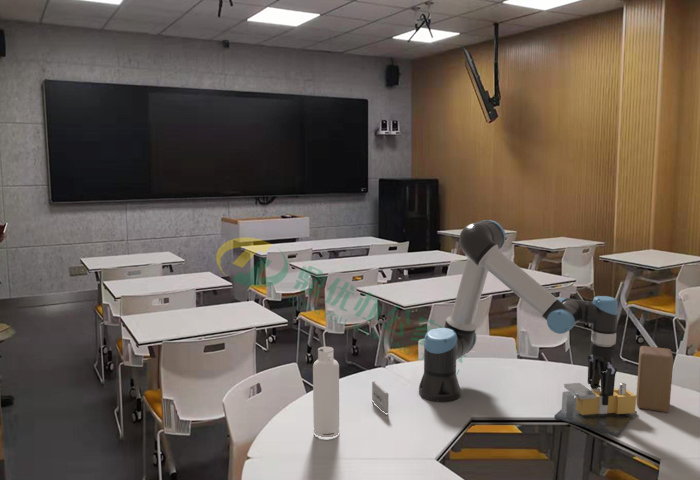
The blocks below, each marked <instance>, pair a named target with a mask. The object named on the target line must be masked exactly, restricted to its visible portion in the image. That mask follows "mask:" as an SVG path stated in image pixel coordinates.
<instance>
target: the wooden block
mask: <svg viewBox="0 0 700 480" xmlns="http://www.w3.org/2000/svg"><path fill="white" fill-rule="evenodd" d="M638 355H639V356H638V369H637V381H636V382H637V383H636V394H635V395H636V406H637V408H639V409H645V410H650V411H657V412H662V413H668V412H669V411H670V407H671V405H670V404H671V392H672V383H673V382H672V380H673V370H674V369H673V367H674V356H673V351H672V350H671V348H666V347H663V348H662V347H656V346H648V345H641V346H640V347H639V354H638Z"/></svg>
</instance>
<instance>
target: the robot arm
mask: <svg viewBox="0 0 700 480" xmlns="http://www.w3.org/2000/svg"><path fill="white" fill-rule="evenodd" d="M506 238H507V237H506V232H505V230H504V228H503V226H502V225H501V224H500V223H498V222H497V221H495V220H491V219H489V220H488V219H484V220H480V221H478V222H474V223H469V224H468V225H465V227H464V228H462V230H461V232H460V233H459V238H458V241H459V242H458V243H459V246H460V249H461V251H462V252H463V253H464V255H465V256H466V260H465V261H466V262H465V264H464V268H463V272H462V276H461V279H460V283H459V287H458V290H457V294H456V297H455V301H454V305H453V308H452V312H451V315H450V316H447V317H446V319H445V322H444V326H443V327H437V328H433V329H430V330H428V331H427V332H426V333H425V335H424V341H423V349H424V351H423V374H422V377H421V380H420V383H419V387H418V394H419V395H420V397H422V399H423V398H424V399H426V400H429V401H432V402H440V403H445V402H447V403H448V402H453V401H456V400H458V399H459V398H460V397H461V387H460V383H459V380H458V377H457V360H458V359H460V358H462V357H463V356H465V355H466V354H468V353H469V352H470V351H471V350H472V349H473V348H474V346H475V345H476V342H477V333H476V329H477V326H476V324H475V318H476V315H477V311H478V307H479V304H480V301H481V297H482V293H483V290H484V286H485V283H486V279H487V275H488V273H490V274H492V275H493V276H494V277H495V278H497V279H498V280H499V281H500V282H501V283H502V284H504V285H505V287H506V288H508V289H509V290H511V291H512V292H513V293H514V294H515V295H516V296H517V297H518V298H520V299H521V300H522V301H524V302H525V304H527V305H528V306H529V307H531V309H533V310H534V311H535V312H536V313H538V314H539V315H540V316H541V317H542V318H543V319H544V320H546V324H547V327H548V328H549V330H550V331H552V332H554V333H556V334H559V335H560V334H561V335H562V334H566V333H567V332H569V331H571V330H572V329H573V328H574V327H575V325H577V324H578V323H581V324H587V325H591V334H590V341H591V342H590V349H589V351H590V355H587V362H588V363H587V365H588V366H587V384H588V385H589V386H590V388H591V390H590V391H592V392H598V391H601V394H599V410H598V413H599V414H606V413H607V408H608V398H609V396H613V394H614V389H615V381H616V375H617V371H618V369H617V368H616V367H614V366H613V364H612V358H614V357H615V356H616V343H617V327H618V326H617V325H618V317H619V315H618V314H619V309H618V304H619V303H618V300H617V299H616V298H615V297H613V296H607V295H602V296H601V295H597V296H594V297H593V300H592V301H589V300H582V299H574V298H570V297H556V296H554V295H553V293H551V292H550V291H549V290H547V289H546V288H545V286H543V285H541V284H540V283H539V282H538V281H536V280H535V279H534V278H533V277H532V276H531V275H530V274H528V273H527V272H526V271H525V270H523V269H522V268H521V267H520V266H519V265H517V264H516V263H515V262H514V261H513V260H512V259H510V258H509V257H508V256H507V255H506V254H504V253H503V252H502V251H501V250H500V249H501V248H503V245H504V244H505V242H506Z"/></svg>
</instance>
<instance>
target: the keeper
mask: <svg viewBox="0 0 700 480" xmlns="http://www.w3.org/2000/svg"><path fill="white" fill-rule="evenodd" d="M563 387H564V388H565V389H566V390H567V391H562V393H561V395H562V396H561V397H562V398H561V409H562V413H561V415H563V416H564V417H565V418H573V410H574V398H575V397H578V398H579V399H592V398H596V394H594V393H593V392H592V391H591V390H590V389H589V388H587V387H586V386H585V385H583V384H582V383H580V382H573V383H572V382H571V383H570V382H569V383H564V384H563Z"/></svg>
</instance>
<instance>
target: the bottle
mask: <svg viewBox="0 0 700 480" xmlns="http://www.w3.org/2000/svg"><path fill="white" fill-rule="evenodd" d="M334 357H335V356H334V348H333V347H331V346H321V347H319V348H317V359H316V360H315V361H314V363H312V364H313V365H312V390H313V391H312V392H313V393H312V396H313V397H312V400H313V401H312V402H313V403H312V404H313V409H312V410H313V434H314V433H315V434H316V435H318V436H321V437H333V436H336V435H338V433H339V434H340V364H339V362H338V361H337V360H336V359H335V358H334ZM315 431H316V432H315Z"/></svg>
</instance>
